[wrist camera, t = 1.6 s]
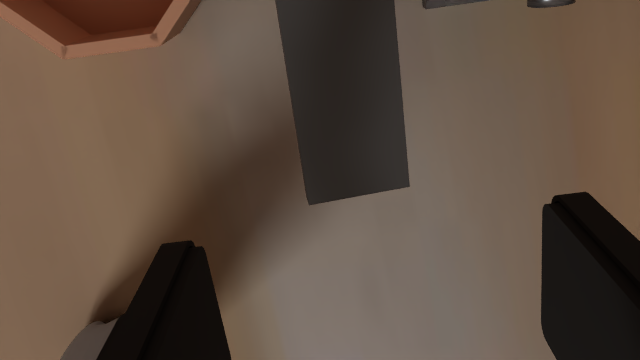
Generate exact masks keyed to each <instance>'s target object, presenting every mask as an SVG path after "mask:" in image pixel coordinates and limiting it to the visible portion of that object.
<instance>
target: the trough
mask: <svg viewBox="0 0 640 360" xmlns="http://www.w3.org/2000/svg"><path fill="white" fill-rule="evenodd" d="M275 2H276V8H277V14H278V21H279V27H280V33H281V40H282V46H283V52H284V58H285V65H286V71H287V77H288V84H289V90H290V96H291V102H292V109H293V115H294V121H295V128H296V134H297V140H298V147H299V153H300V159H301V165H302V172H303V178H304V184H305V191H306V197H307V200H308V204H309V205H313V204H318V203H323V202H329V201H334V200H340V199H345V198H351V197H356V196H361V195H367V194H372V193H378V192H383V191H389V190H394V189H400V188H405V187H410V185H409V173H408V161H407V149H406V137H405V125H404V113H403V101H402V89H401V77H400V65H399V53H398V41H397V29H396V17H395V5H394V0H275Z"/></svg>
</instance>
